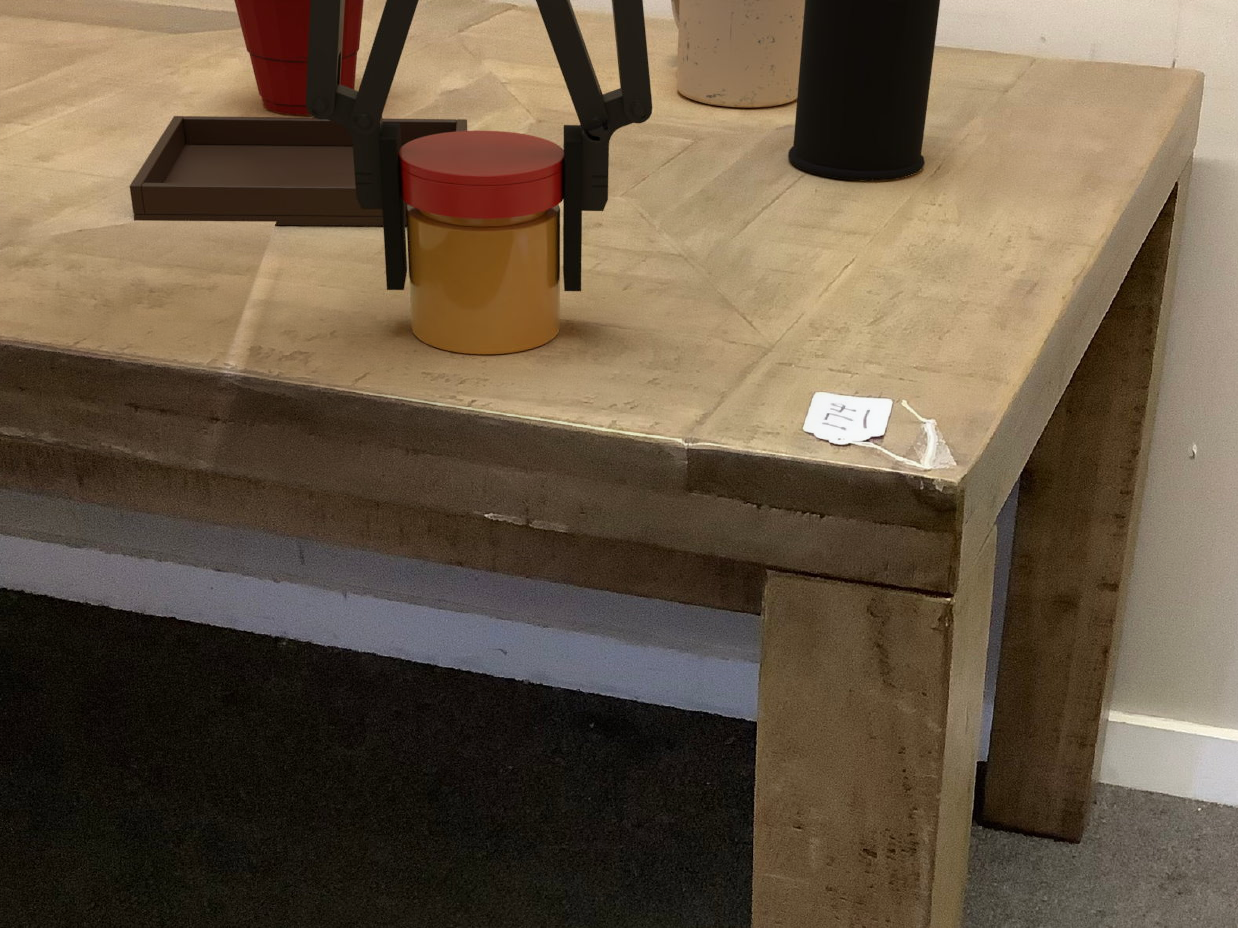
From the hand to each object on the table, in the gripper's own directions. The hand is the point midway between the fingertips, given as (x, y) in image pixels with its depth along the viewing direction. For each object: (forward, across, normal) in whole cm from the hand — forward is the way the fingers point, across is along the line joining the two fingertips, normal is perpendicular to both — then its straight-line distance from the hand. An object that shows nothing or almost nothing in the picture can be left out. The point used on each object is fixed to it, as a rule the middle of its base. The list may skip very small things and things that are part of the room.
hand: (484, 279), depth 76 cm
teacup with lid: (+2, +16, +46) cm, 49 cm away
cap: (-5, 0, 0) cm, 5 cm away
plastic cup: (+2, -12, +40) cm, 42 cm away
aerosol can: (+2, +22, +28) cm, 36 cm away
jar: (+2, 0, 0) cm, 2 cm away
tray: (+2, -10, +22) cm, 24 cm away
